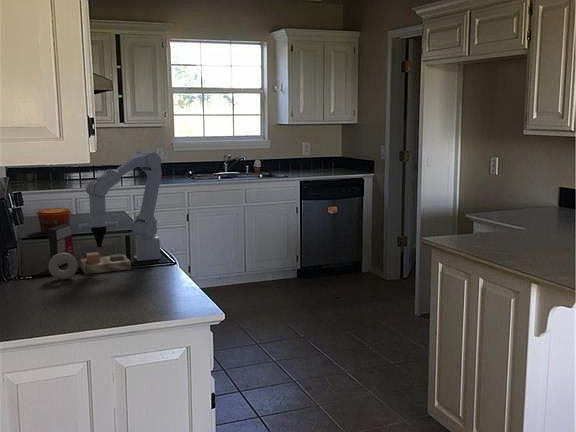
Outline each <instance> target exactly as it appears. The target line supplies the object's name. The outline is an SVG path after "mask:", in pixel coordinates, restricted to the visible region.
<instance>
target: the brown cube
mask: <svg viewBox="0 0 576 432" xmlns="http://www.w3.org/2000/svg"><path fill="white" fill-rule="evenodd" d="M85 257H86V261H87V264H88V263H98V262H100V257H101V254H100V253H99V252H98V251H94V252H87V253H85Z"/></svg>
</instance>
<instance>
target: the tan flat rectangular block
mask: <svg viewBox="0 0 576 432" xmlns="http://www.w3.org/2000/svg"><path fill="white" fill-rule="evenodd" d="M122 255H123V256H124V260H118V261H111V260H110V255H108V256H107V255H106V256H100V262H98V263H88V264H87V261H86V258H79V259H80V268H81V269H82V271H83V273H84V275H88V274H97V273H107V272H117V271H124V270H125V271H126V270H131V269H132V265H131V264H132V263H131V260H130V259H129V258H128V257H127V256H126V254H122Z"/></svg>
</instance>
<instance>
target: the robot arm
mask: <svg viewBox="0 0 576 432" xmlns="http://www.w3.org/2000/svg"><path fill="white" fill-rule="evenodd" d="M161 164H162V158H161V156H160V155H159V153H157V152H155V151H143V150H139V151H137V152H136V153H133V154H132V155H131V156H130V158H128V159H127V160H126V161H124V163H122V164H121V165H120V166H118V167H117V168H116V169H113V168H111V169H107V170H106V171H105V173H104V174H102V175H101V176H97V177H96V179H94V180H91V181H89V182H88V184H87V186H86V187H85V191H86V193H87V194H88V199H89V217H90V218H89V219H90V220H89V221H90V222H86V223H78V226H77V228H78V230H79V231H82V230H90V231H91V232H92V234H93V237H94V239H95V242H96V247H97V248H102V245H103V240H104V237H105V235H106V233H107V229H108V228H119V221H107V210H106V208H107V207H106V195H108V191H109V190H110V189H112V188H113V187H114V186H116V185H117V184H118V183H119V182H121V180H122V177H123V176H125V175H126V174H128V173H129V172H130V171H132V170H134V169H136V168H140V169H141V170H143V171H144V173H145V174H146V181H145V186H144V191H143V197H142V203H141V208H140V211H139V214H137V215H136V216H135V218H134V222H133V223H132V225H131V231H132V233H133V234H134V238H135V251H136V255H133V258H134V259H135V260H136V261H138V262H141V261H142V262H143V261H152V260H160V259H162V257H161V241H160V237H159V236H157V232H158V227H157V224H158V223H157V222H158V220H157V219H156V217H155V215H154V214H155V211H156V204H157V199H158V194H159V188H160V185H161V179H162V173H163V172H162V165H161Z"/></svg>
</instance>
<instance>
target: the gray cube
mask: <svg viewBox="0 0 576 432" xmlns="http://www.w3.org/2000/svg"><path fill="white" fill-rule="evenodd" d="M123 255H124V254H122V253H116V254H110V255H109V256H110V260H111V261H118V260H124V256H123Z"/></svg>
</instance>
